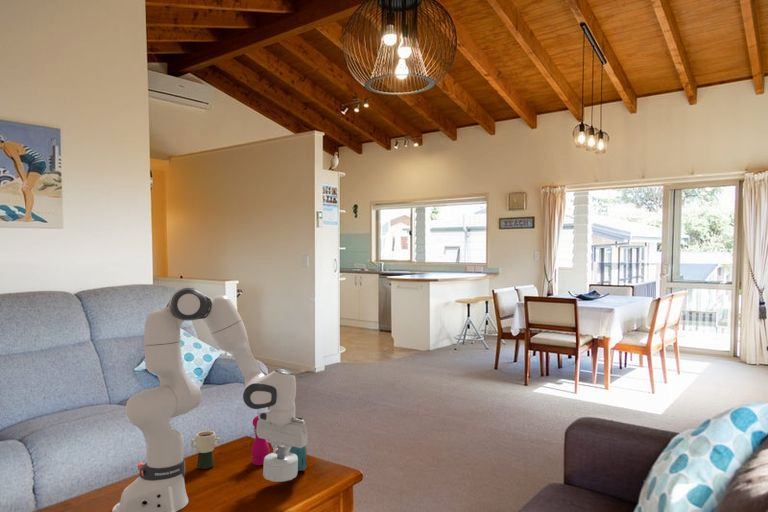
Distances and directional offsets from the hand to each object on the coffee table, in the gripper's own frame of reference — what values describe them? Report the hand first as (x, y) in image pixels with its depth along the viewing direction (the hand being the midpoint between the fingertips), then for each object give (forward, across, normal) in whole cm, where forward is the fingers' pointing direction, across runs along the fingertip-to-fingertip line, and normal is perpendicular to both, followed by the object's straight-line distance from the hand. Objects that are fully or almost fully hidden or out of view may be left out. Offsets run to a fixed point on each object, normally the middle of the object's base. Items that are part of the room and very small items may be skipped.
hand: (281, 454), depth 183 cm
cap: (+7, 0, 0) cm, 7 cm away
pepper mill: (+12, +21, -14) cm, 28 cm away
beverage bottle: (+12, +2, -14) cm, 18 cm away
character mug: (+13, +36, 0) cm, 39 cm away
